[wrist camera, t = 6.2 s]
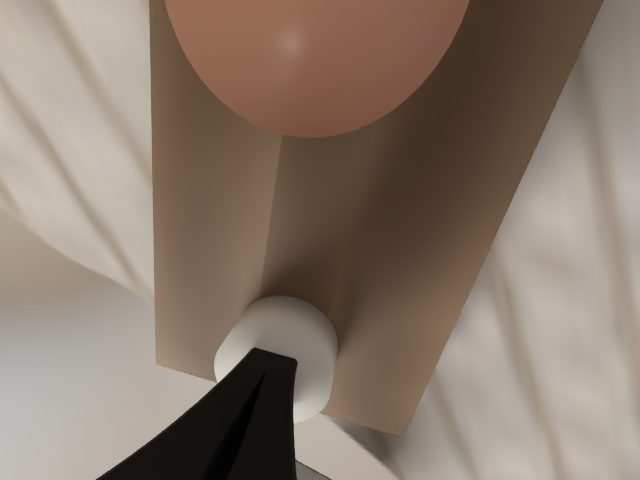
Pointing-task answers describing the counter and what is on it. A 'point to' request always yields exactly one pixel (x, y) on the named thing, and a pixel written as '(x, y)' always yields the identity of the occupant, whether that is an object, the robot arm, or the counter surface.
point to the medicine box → (308, 473)
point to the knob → (287, 347)
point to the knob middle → (314, 56)
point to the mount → (352, 203)
